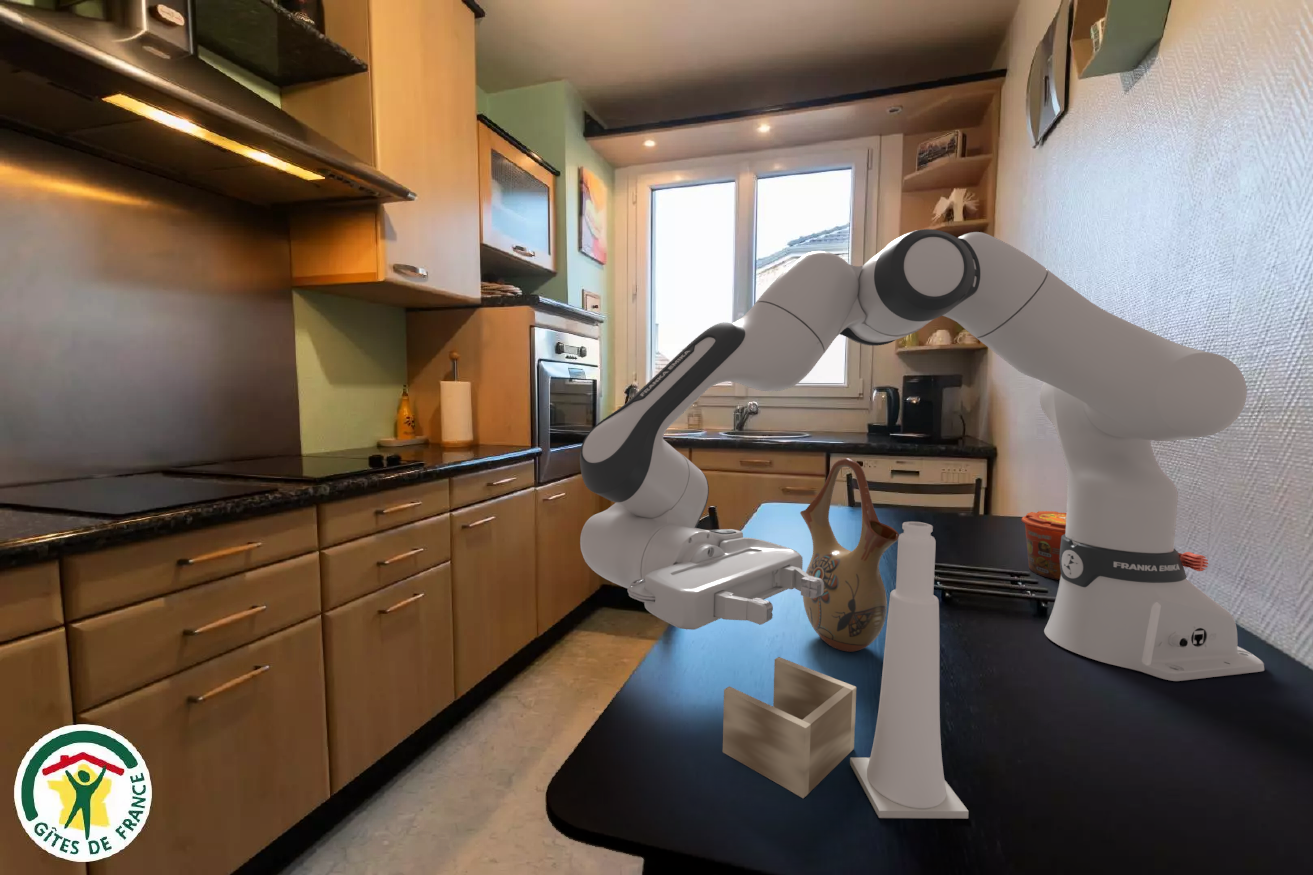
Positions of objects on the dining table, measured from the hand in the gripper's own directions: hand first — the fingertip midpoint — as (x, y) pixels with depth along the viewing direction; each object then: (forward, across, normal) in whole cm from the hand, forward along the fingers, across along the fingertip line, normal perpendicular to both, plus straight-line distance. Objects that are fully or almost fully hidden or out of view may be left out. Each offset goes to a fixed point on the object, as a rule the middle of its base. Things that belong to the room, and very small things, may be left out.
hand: (796, 601), depth 53 cm
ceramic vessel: (-6, +23, +14) cm, 27 cm away
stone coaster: (+11, 0, +13) cm, 17 cm away
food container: (+10, +83, +13) cm, 84 cm away
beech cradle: (0, -2, +13) cm, 14 cm away
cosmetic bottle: (+11, 0, +13) cm, 17 cm away
